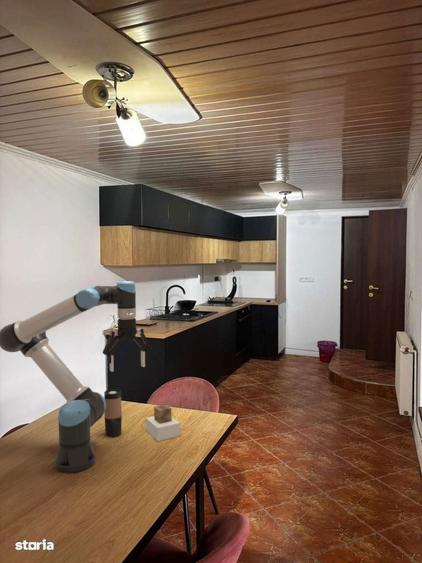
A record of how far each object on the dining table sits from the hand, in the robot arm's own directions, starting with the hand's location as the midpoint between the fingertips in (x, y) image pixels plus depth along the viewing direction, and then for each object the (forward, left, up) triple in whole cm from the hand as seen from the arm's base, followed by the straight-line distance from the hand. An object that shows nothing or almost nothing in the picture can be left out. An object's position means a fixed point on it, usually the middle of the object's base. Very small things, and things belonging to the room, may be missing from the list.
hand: (127, 368), depth 168 cm
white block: (+19, +8, -35) cm, 40 cm away
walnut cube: (+19, +8, -29) cm, 35 cm away
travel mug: (-1, +19, -35) cm, 40 cm away
